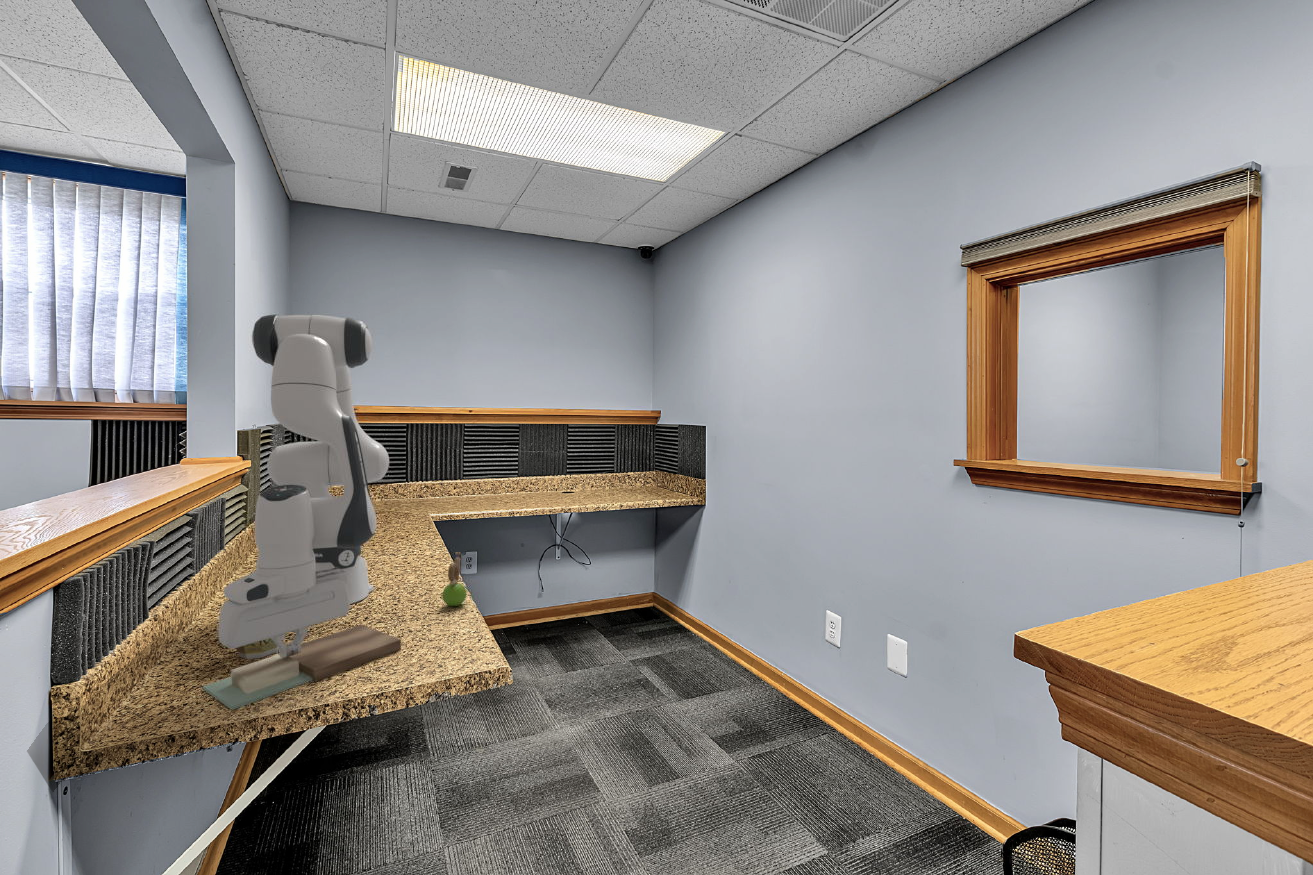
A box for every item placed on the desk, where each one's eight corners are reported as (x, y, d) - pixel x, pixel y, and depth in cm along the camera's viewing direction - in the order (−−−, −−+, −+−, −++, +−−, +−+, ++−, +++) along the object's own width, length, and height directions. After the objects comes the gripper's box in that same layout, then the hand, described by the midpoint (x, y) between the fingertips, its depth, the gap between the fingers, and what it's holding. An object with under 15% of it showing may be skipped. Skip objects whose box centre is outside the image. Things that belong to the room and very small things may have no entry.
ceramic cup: (281, 659, 111) (279, 606, 110) (219, 666, 108) (216, 612, 107) (301, 633, 123) (299, 586, 122) (246, 639, 120) (244, 591, 120)
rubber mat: (202, 689, 99) (202, 686, 99) (280, 663, 109) (280, 660, 109) (231, 709, 92) (231, 706, 92) (312, 680, 102) (312, 677, 102)
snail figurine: (470, 600, 143) (469, 551, 143) (463, 609, 137) (461, 558, 136) (448, 600, 143) (446, 552, 142) (439, 609, 137) (438, 559, 136)
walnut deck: (278, 661, 109) (277, 651, 109) (362, 633, 123) (362, 624, 122) (315, 681, 101) (314, 670, 101) (401, 649, 115) (400, 639, 114)
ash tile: (231, 684, 100) (231, 669, 100) (283, 666, 106) (282, 653, 106) (246, 693, 96) (246, 679, 96) (299, 675, 103) (298, 661, 103)
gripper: (337, 562, 114) (340, 632, 115) (212, 590, 97) (216, 671, 98) (354, 567, 110) (357, 639, 111) (227, 597, 94) (231, 681, 94)
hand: (290, 654), depth 104 cm, fingers closed
